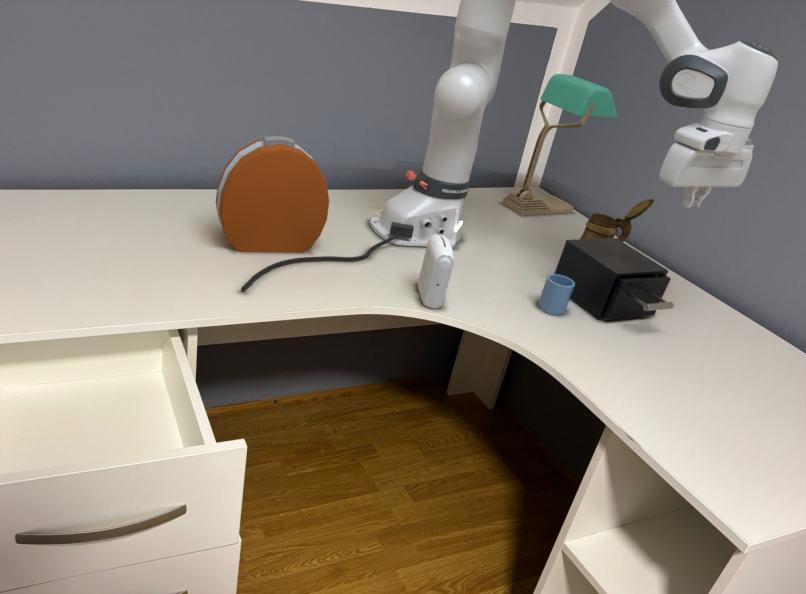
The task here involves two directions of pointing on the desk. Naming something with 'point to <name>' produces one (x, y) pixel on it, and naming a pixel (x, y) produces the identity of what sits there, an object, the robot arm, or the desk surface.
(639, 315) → the drawer
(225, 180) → the alarm clock
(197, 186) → the desk surface
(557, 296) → the cup
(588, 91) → the banker's lamp
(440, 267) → the photo printer
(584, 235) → the wooden mug
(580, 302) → the black box
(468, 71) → the robot arm
